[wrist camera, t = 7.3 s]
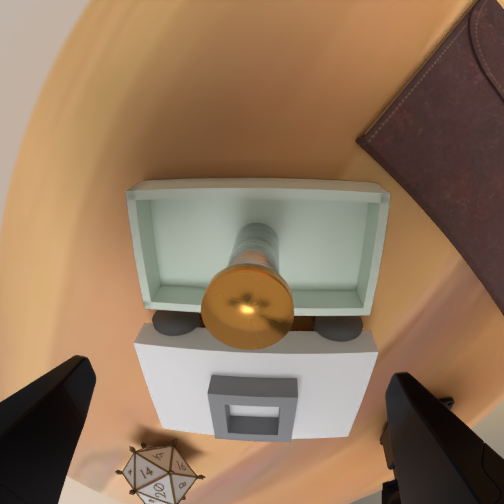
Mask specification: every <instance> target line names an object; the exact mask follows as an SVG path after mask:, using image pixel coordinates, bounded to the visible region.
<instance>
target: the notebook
mask: <svg viewBox="0 0 504 504" xmlns="http://www.w3.org/2000/svg"><path fill="white" fill-rule="evenodd" d="M361 137H362V138H358V139H357V140H356V142H357V143H358V144H359V145H360V146H361V147H362V148H363V149H364V150H365V151H366V152H367V153H369V154H370V155H371V156H372V157H373V158H374V159H375V160H376V161H377V162H378V163H379V164H380V165H381V166H382V167H383V168H384V169H385V170H386V171H387V172H388V173H389V174H390V175H391V176H392V177H393V178H394V179H395V180H396V181H397V182H398V183H399V184H400V185H401V186H402V187H403V188H404V189H405V190H406V191H407V192H408V193H409V195H410V196H411V197H412V198H413V199H414V200H415V201H416V202H417V203H418V204H419V205H420V206H421V208H422V209H423V210H424V211H425V212H426V213H427V214H428V215H429V217H430V218H431V219H432V220H433V221H434V222H435V224H436V225H437V226H438V227H439V228H440V229H441V231H442V232H443V233H444V234H445V235H446V237H447V238H448V239H449V240H450V242H451V243H452V244H453V245H454V246H455V248H456V249H457V250H458V252H459V253H460V254H461V255H462V257H463V258H464V259H465V261H466V262H467V263H468V265H469V266H470V267H471V269H472V270H473V271H474V273H475V274H476V275H477V277H478V278H479V280H480V281H481V282H482V284H483V285H484V287H485V288H486V289H487V291H488V292H489V294H490V295H491V297H492V298H493V300H494V301H495V303H496V304H497V306H498V307H499V309H500V310H501V312H502V314H503V315H504V9H503V8H502V6H501V5H500V4H499V3H498V2H497V0H475V2H474V3H473V4H472V5H471V6H470V8H469V9H468V10H467V11H466V12H465V14H464V15H463V16H462V17H461V18H460V20H459V21H458V22H457V23H456V25H455V26H454V27H453V28H452V29H451V31H450V32H449V33H448V34H447V35H446V37H445V38H444V39H443V40H442V41H441V43H440V44H439V45H438V46H437V47H436V49H435V50H434V51H433V52H432V53H431V55H430V56H429V57H428V58H427V59H426V61H425V62H424V63H423V64H422V65H421V67H420V68H419V69H418V70H417V71H416V73H415V74H414V75H413V76H412V77H411V78H410V80H409V81H408V82H407V83H406V84H405V86H404V87H403V88H402V89H401V90H400V92H399V93H398V94H397V95H396V96H395V97H394V99H393V100H392V101H391V102H390V103H389V105H388V106H387V107H386V108H385V109H384V111H383V112H382V113H381V114H380V115H379V116H378V118H377V119H376V120H375V121H374V122H373V124H372V125H371V126H370V127H369V128H368V129H367V131H366V132H365V133H364V134H363V135H362V136H361Z"/></svg>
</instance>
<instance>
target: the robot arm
mask: <svg viewBox="0 0 504 504" xmlns="http://www.w3.org/2000/svg"><path fill="white" fill-rule="evenodd" d="M95 384H96V375H95V372H94V370H93V368H92V365H91V363H90V361H89V359H88V358H87V357H85V356H80V355H75V356H73V357H72V358H70V359H68V360H67V361H65V362H64V363H62V364H60V365H59V366H57V367H56V368H54V369H52V370H51V371H49V372H48V373H46V374H44V375H43V376H41V377H40V378H38V379H37V380H35V381H33V382H32V383H30V384H29V385H27V386H25V387H24V388H22V389H21V390H19V391H18V392H16V393H14V394H13V395H11V396H10V397H8V398H6V399H5V400H3V401H2V402H0V504H58V502H59V498H60V495H61V491H62V488H63V485H64V482H65V479H66V475H67V472H68V469H69V466H70V463H71V460H72V457H73V454H74V451H75V449H76V446H77V443H78V440H79V437H80V435H81V432H82V429H83V426H84V423H85V420H86V417H87V413H88V409H89V406H90V402H91V398H92V394H93V391H94V387H95ZM385 400H386V408H387V417H388V426H387V428H386V430H385V432H384V433H383V435H382V437H381V439H380V444H381V445H383V448H384V453H385V457H386V462H387V467H388V469H390V470H392V469H393V472H394V477H395V479H394V480H392V481H387V482H385V483H383V490H382V504H504V459H503V458H502V457H501V456H500V455H498V454H497V453H496V452H495V451H494V450H493V449H492V448H491V447H490V446H488V445H487V444H486V443H484V441H483V440H482V439H481V438H480V437H479V436H477V435H476V434H475V433H474V432H473V431H472V430H471V429H470V428H469V427H468V426H467V425H466V424H464V423H463V422H462V421H461V420H460V419H459V418H458V417H457V416H456V415H455V414H454V413H452V412H451V411H450V409H451V407H452V405H453V404H454V400H453V398H448V399H442V400H438V399H437V398H436V397H435V396H434V395H433V394H432V393H430V392H429V391H428V390H427V389H426V388H425V387H424V386H423V385H422V384H421V383H419V382H418V381H417V380H416V379H415V378H414V377H413V376H412V375H411V374H409V373H408V372H398V373H394V374H393V376H392V378H391V381H390V383H389V385H388V388H387V390H386V394H385Z"/></svg>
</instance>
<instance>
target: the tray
mask: <svg viewBox="0 0 504 504" xmlns="http://www.w3.org/2000/svg"><path fill="white" fill-rule="evenodd" d="M126 199H127V208H128V215H129V222H130V229H131V236H132V243H133V249H134V255H135V261H136V266H137V272H138V277H139V282H140V287H141V292H142V297H143V302H144V307H145V309H158V310H171V311H186V312H201V303H202V299H203V297H204V294H205V291H206V289H207V286H208V284H209V282H210V281H211V279H212V278H213V277H214V276H215V275H216V274H217V273H218V272H220V271H221V270H223V269H225V268H227V265H228V262H229V259H230V255H231V252H232V249H233V246H234V243H235V239H236V236H237V234H238V232H239V231H240V230H241V229H242V228H243V227H244V226H246V225H248V224H251V223H263V224H266V225H268V226H270V227H271V228H272V229H273V230H274V231H275V232H276V234H277V236H278V240H279V269H280V276H282V277H283V279H284V280H285V281H286V282H287V284H288V285H289V287H290V289H291V292H292V295H293V303H294V316H361V315H370V312H371V308H372V303H373V299H374V294H375V289H376V284H377V279H378V274H379V269H380V263H381V257H382V252H383V246H384V239H385V233H386V226H387V219H388V211H389V203H390V193H389V192H387V191H386V190H385V189H383V188H382V187H381V186H379V185H378V184H376V183H372V182H357V181H341V180H321V179H293V178H190V179H162V180H144V181H142V182H140V183H138V184H137V185H135V186H133V187H131V188H130V189H128V190H126Z"/></svg>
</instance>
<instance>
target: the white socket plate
mask: <svg viewBox="0 0 504 504" xmlns="http://www.w3.org/2000/svg"><path fill="white" fill-rule="evenodd" d="M152 321H153V324H150V323H144V325H143V327H142V329H141V331H140V332H139V334H138V336H137V338H136V340H135V342H134V346H135V349H136V352H137V356H138V359H139V362H140V365H141V368H142V371H143V374H144V378H145V381H146V383H147V386H148V389H149V392H150V395H151V398H152V401H153V403H154V406H155V409H156V411H157V414H158V417H159V419H160V422H161V424H162V427H163V428H165V429H171V430H178V431H185V432H192V433H200V434H209V435H215V438H217V439H228V440H242V441H263V442H291V439H305V438H331V437H346V436H348V434H349V432H350V430H351V427H352V425H353V422H354V420H355V417H356V415H357V412H358V410H359V407H360V405H361V402H362V399H363V396H364V394H365V391H366V388H367V385H368V383H369V380H370V377H371V374H372V371H373V368H374V365H375V362H376V359H377V355H378V352H379V351H378V349H377V346H376V343H375V340H374V338H373V335H372V332H371V330H363V331H362V328H363V322H362V320H361V318H360V317H359V316H316V317H315V322H314V330H313V331H289V332H288V333H287V335H286V336H285V337H284V338H283V339H281V340H280V341H279V342H277V343H276V344H274V345H272V346H269V347H266V348H263V349H257V350H243V349H237V348H234V347H230V346H228V345H226V344H224V343H222V342H220V341H219V340H217V339H216V338H215V337H214V336H213V335H212V334H211V333H210V332H209V331H208V329H207V328H201V322H200V314H199V312H186V311H171V310H158V311H157V312H156V313H155V314H154V315H153V318H152Z"/></svg>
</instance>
